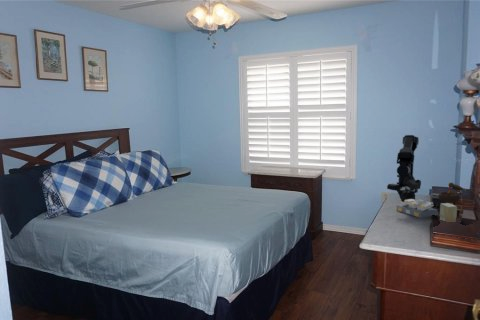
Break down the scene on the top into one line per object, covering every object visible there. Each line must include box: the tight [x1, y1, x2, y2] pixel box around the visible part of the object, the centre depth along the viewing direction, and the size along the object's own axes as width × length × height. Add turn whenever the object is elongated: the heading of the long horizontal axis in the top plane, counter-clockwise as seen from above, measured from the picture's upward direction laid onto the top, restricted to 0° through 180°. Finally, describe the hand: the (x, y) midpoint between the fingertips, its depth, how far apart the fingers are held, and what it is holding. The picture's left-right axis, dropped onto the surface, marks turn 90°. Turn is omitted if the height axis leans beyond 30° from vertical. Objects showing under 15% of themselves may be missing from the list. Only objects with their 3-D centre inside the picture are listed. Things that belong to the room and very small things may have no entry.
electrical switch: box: [430, 193, 447, 212], centre depth 200 cm, size 9×5×9 cm, turn 57°
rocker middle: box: [409, 198, 426, 209], centre depth 196 cm, size 4×8×2 cm, turn 112°
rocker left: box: [400, 199, 417, 205], centre depth 201 cm, size 4×8×2 cm, turn 112°
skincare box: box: [439, 203, 458, 222], centre depth 167 cm, size 6×4×12 cm
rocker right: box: [417, 201, 434, 211], centre depth 191 cm, size 4×8×2 cm, turn 112°
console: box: [396, 204, 438, 219], centre depth 196 cm, size 16×12×4 cm
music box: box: [431, 182, 468, 218], centre depth 179 cm, size 15×11×20 cm
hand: (402, 201), depth 199 cm, fingers closed
